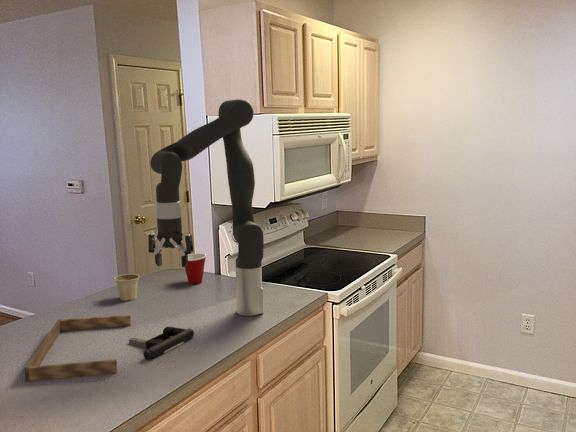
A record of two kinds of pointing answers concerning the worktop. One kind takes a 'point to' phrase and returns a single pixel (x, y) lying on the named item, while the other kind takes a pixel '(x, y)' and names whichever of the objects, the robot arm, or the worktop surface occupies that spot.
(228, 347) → the worktop surface
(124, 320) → the box
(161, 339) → the door handle
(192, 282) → the plastic cup
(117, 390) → the worktop surface
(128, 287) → the flower pot
